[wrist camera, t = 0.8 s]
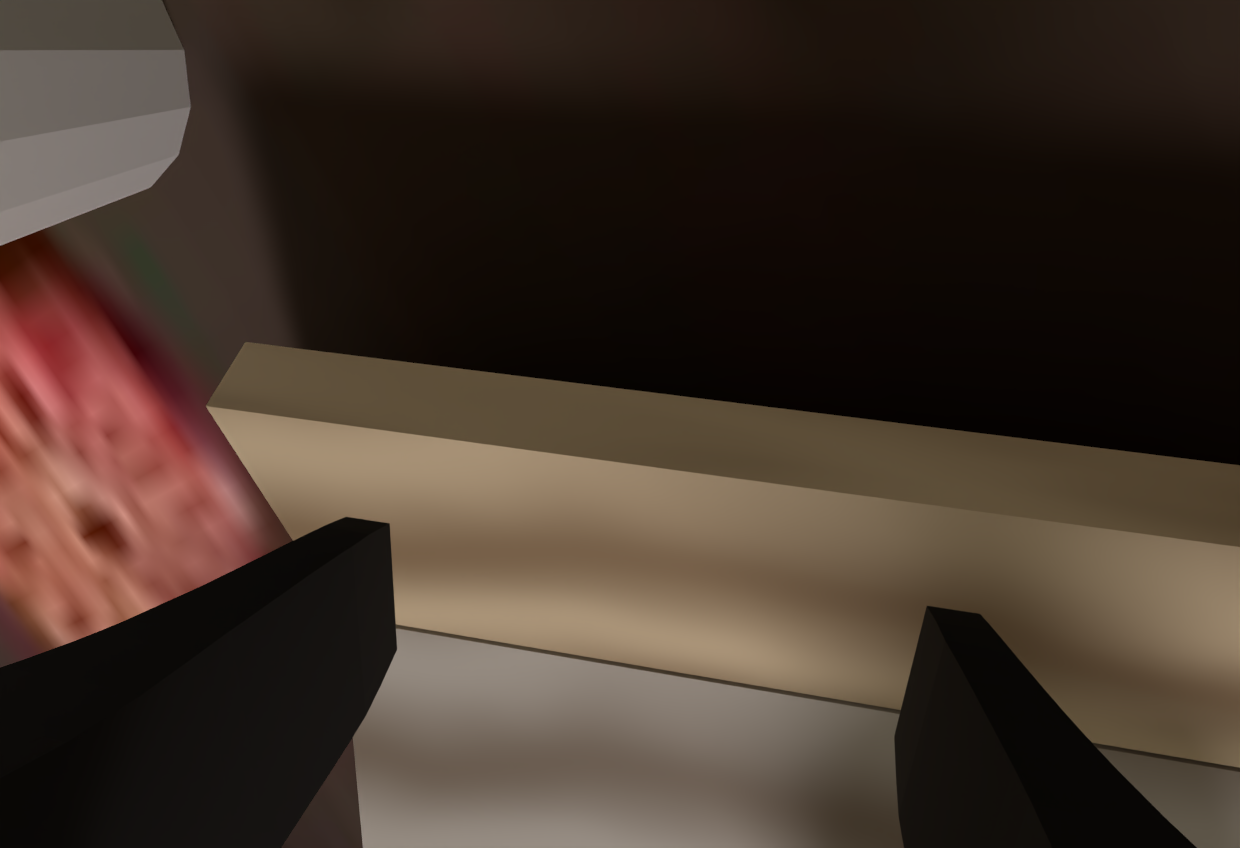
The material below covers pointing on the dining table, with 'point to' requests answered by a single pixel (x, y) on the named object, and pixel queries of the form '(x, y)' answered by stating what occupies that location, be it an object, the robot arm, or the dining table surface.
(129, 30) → the white cup
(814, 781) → the laid plank
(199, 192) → the dining table surface
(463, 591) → the oak plank
